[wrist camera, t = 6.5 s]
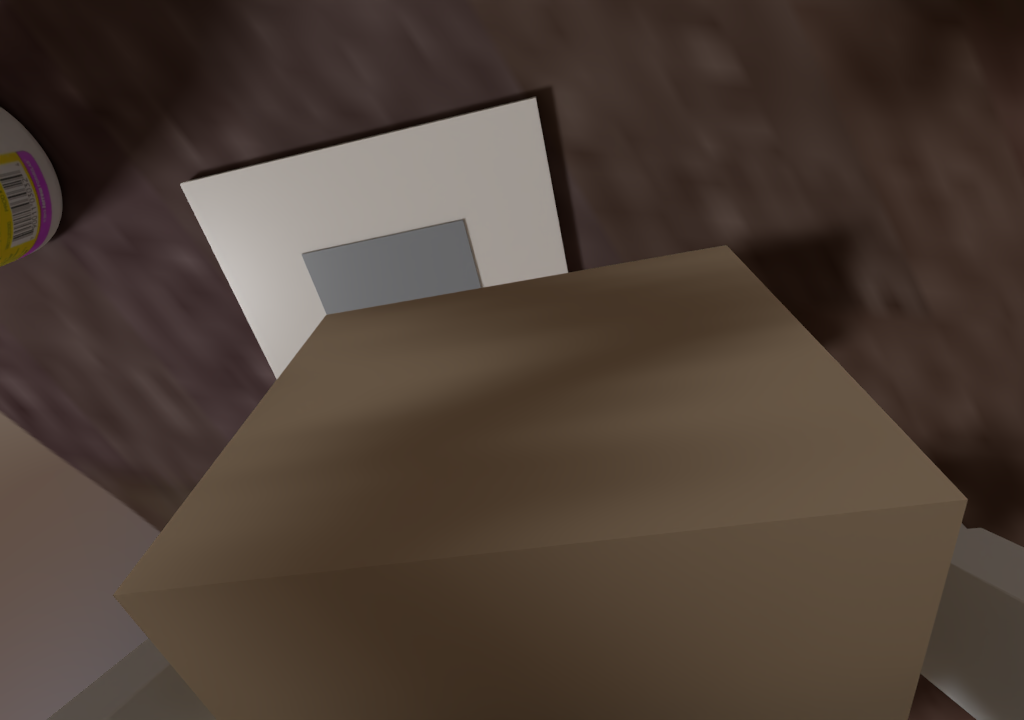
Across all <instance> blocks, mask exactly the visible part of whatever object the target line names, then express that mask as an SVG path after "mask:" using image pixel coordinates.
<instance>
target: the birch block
mask: <svg viewBox="0 0 1024 720" xmlns="http://www.w3.org/2000/svg"><path fill="white" fill-rule="evenodd" d="M967 501H968V499H967V498H966V497H965V496H964V495H963V494H962V493H961V492H960V490H959V489H958V488H957V487H956V486H955V485H954V484H953V483H952V482H951V481H950V480H949V479H948V478H947V477H946V476H945V475H944V474H943V473H942V472H941V470H940V469H939V468H938V467H937V466H936V465H935V464H934V463H933V462H932V461H931V460H930V459H929V458H928V457H927V456H926V455H925V454H924V453H923V452H922V450H921V449H920V448H919V447H918V446H917V445H916V444H915V443H914V442H913V441H912V440H911V439H910V438H909V437H908V436H907V435H906V434H905V433H904V432H903V430H902V429H901V428H900V427H899V426H898V425H897V424H896V423H895V422H894V421H893V420H892V419H891V418H890V417H889V416H888V415H887V414H886V413H885V412H884V410H883V409H882V408H881V407H880V406H879V405H878V404H877V403H876V402H875V401H874V400H873V399H872V398H871V397H870V396H869V395H868V394H867V393H866V392H865V390H864V389H863V388H862V387H861V386H860V385H859V384H858V383H857V382H856V381H855V380H854V379H853V378H852V377H851V376H850V375H849V374H848V373H847V372H846V370H845V369H844V368H843V367H842V366H841V365H840V364H839V363H838V362H837V361H836V360H835V359H834V358H833V357H832V356H831V355H830V354H829V353H828V352H827V350H826V349H825V348H824V347H823V346H822V345H821V344H820V343H819V342H818V341H817V340H816V339H815V338H814V337H813V336H812V335H811V334H810V333H809V332H808V330H807V329H806V328H805V327H804V326H803V325H802V324H801V323H800V322H799V321H798V320H797V319H796V318H795V317H794V316H793V315H792V314H791V313H790V312H789V310H788V309H787V308H786V307H785V306H784V305H783V304H782V303H781V302H780V301H779V300H778V299H777V298H776V297H775V296H774V295H773V294H772V293H771V292H770V290H769V289H768V288H767V287H766V286H765V285H764V284H763V283H762V282H761V281H760V280H759V279H758V278H757V277H756V276H755V275H754V274H753V273H752V272H751V270H750V269H749V268H748V267H747V266H746V265H745V264H744V263H743V262H742V261H741V260H740V259H739V258H738V257H737V256H736V255H735V254H734V253H733V252H732V250H731V249H730V248H729V247H728V246H727V245H724V246H719V247H713V248H707V249H702V250H696V251H690V252H684V253H679V254H673V255H667V256H661V257H656V258H650V259H644V260H638V261H633V262H627V263H621V264H615V265H610V266H604V267H598V268H592V269H587V270H581V271H575V272H569V273H564V274H558V275H552V276H546V277H541V278H535V279H529V280H524V281H518V282H512V283H506V284H501V285H495V286H489V287H483V288H478V289H472V290H466V291H460V292H455V293H449V294H443V295H437V296H432V297H426V298H420V299H414V300H409V301H403V302H397V303H391V304H386V305H380V306H374V307H369V308H363V309H357V310H351V311H346V312H340V313H334V314H328V315H326V316H325V317H324V318H323V320H322V321H321V322H320V324H319V325H318V326H317V328H316V329H315V330H314V331H313V333H312V334H311V335H310V337H309V338H308V339H307V341H306V342H305V343H304V345H303V346H302V347H301V349H300V350H299V351H298V353H297V354H296V355H295V356H294V358H293V359H292V360H291V362H290V363H289V364H288V366H287V367H286V368H285V370H284V371H283V372H282V374H281V375H280V376H279V378H278V379H277V380H276V381H275V383H274V384H273V385H272V387H271V388H270V389H269V391H268V392H267V393H266V395H265V396H264V397H263V399H262V400H261V401H260V403H259V404H258V405H257V406H256V408H255V409H254V410H253V412H252V413H251V414H250V416H249V417H248V418H247V420H246V421H245V422H244V424H243V425H242V426H241V427H240V429H239V430H238V431H237V433H236V434H235V435H234V437H233V438H232V439H231V441H230V442H229V443H228V445H227V446H226V447H225V449H224V450H223V451H222V452H221V454H220V455H219V456H218V458H217V459H216V460H215V462H214V463H213V464H212V466H211V467H210V468H209V470H208V471H207V472H206V474H205V475H204V476H203V477H202V479H201V480H200V481H199V483H198V484H197V485H196V487H195V488H194V489H193V491H192V492H191V493H190V495H189V496H188V497H187V499H186V500H185V501H184V502H183V504H182V505H181V506H180V508H179V509H178V510H177V512H176V513H175V514H174V516H173V517H172V518H171V520H170V521H169V522H168V524H167V525H166V526H165V527H164V529H163V530H162V531H161V533H160V534H159V535H158V537H157V538H156V539H155V541H154V542H153V543H152V545H151V546H150V547H149V549H148V550H147V551H146V553H145V554H144V555H143V557H142V558H141V559H140V561H139V562H138V563H137V565H136V566H135V567H134V568H133V570H132V571H131V572H130V574H129V575H128V576H127V577H126V579H125V580H124V582H123V583H122V584H121V585H120V587H119V588H118V589H117V591H116V592H115V594H114V595H113V596H114V597H115V598H116V600H117V601H118V602H119V603H120V604H121V605H122V607H123V608H124V609H125V610H126V612H127V613H128V614H129V615H130V616H131V618H132V619H133V620H134V621H135V622H136V624H137V625H138V626H139V627H140V628H141V630H142V631H143V632H144V633H145V634H146V636H147V637H148V638H149V639H150V640H151V642H152V643H153V644H154V645H155V646H156V648H157V649H158V650H159V651H160V652H161V654H162V655H163V656H164V657H165V658H166V660H167V661H168V662H169V663H170V664H171V666H172V667H173V668H174V669H175V670H176V672H177V673H178V674H179V675H180V676H181V678H182V679H183V680H184V681H185V682H186V684H187V685H188V686H189V687H190V688H191V690H192V691H193V692H194V693H195V694H196V696H197V697H198V698H199V699H200V700H201V702H202V703H203V704H204V705H205V706H206V708H207V709H208V710H209V711H210V712H211V714H212V715H213V716H214V717H215V718H216V720H908V717H909V713H910V709H911V706H912V702H913V698H914V695H915V691H916V687H917V684H918V680H919V676H920V673H921V669H922V665H923V662H924V658H925V654H926V651H927V647H928V644H929V640H930V636H931V633H932V629H933V625H934V622H935V618H936V614H937V611H938V607H939V603H940V600H941V596H942V592H943V589H944V585H945V581H946V578H947V574H948V570H949V567H950V563H951V560H952V556H953V552H954V549H955V545H956V541H957V538H958V534H959V530H960V527H961V523H962V519H963V516H964V512H965V508H966V505H967Z"/></svg>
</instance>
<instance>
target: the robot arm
mask: <svg viewBox="0 0 1024 720" xmlns="http://www.w3.org/2000/svg"><path fill="white" fill-rule="evenodd" d="M920 674H922V675H923V676H924V677H925V678H926V679H928V680H929V681H930V682H931V683H933V684H934V685H935V686H936V687H938V688H939V689H940V690H941V691H942V692H944V693H945V694H946V695H947V696H949V697H950V698H951V699H952V700H953V701H955V702H956V703H957V704H958V705H960V706H961V707H962V708H963V709H965V710H966V711H967V712H968V713H969V714H971V715H972V716H973V717H974V718H976V719H977V720H1024V547H1021V546H1019V545H1017V544H1015V543H1013V542H1011V541H1009V540H1006V539H1004V538H1002V537H1000V536H998V535H996V534H994V533H991V532H989V531H987V530H985V529H983V528H972V529H967V528H966V527H965V526H964V525H963V524H962V523H961V527H960V530H959V534H958V538H957V541H956V545H955V549H954V552H953V556H952V560H951V563H950V567H949V570H948V574H947V578H946V581H945V585H944V589H943V592H942V596H941V600H940V603H939V607H938V611H937V614H936V618H935V622H934V625H933V629H932V633H931V636H930V640H929V644H928V647H927V651H926V654H925V658H924V662H923V665H922V669H921V673H920ZM47 720H216V718H215V717H214V716H213V715H212V714H211V712H210V711H209V710H208V709H207V708H206V706H205V705H204V704H203V703H202V702H201V700H200V699H199V698H198V697H197V696H196V694H195V693H194V692H193V691H192V690H191V688H190V687H189V686H188V685H187V684H186V682H185V681H184V680H183V679H182V678H181V676H180V675H179V674H178V673H177V672H176V670H175V669H174V668H173V667H172V666H171V664H170V663H169V662H168V661H167V660H166V658H165V657H164V656H163V655H162V654H161V652H160V651H159V650H158V649H157V648H156V646H155V645H154V644H153V643H152V642H151V640H150V639H149V638H148V639H147V640H146V641H145V642H143V643H142V644H141V645H139V646H138V647H137V648H136V649H135V650H133V651H132V652H131V653H129V654H128V655H127V656H126V657H124V658H123V659H122V660H121V661H119V662H118V663H117V664H116V665H115V666H113V667H112V668H111V669H109V670H108V671H107V672H106V673H104V674H103V675H102V676H101V677H100V678H98V679H97V680H96V681H95V682H93V683H92V684H91V685H90V686H88V687H87V688H86V689H85V690H83V691H82V692H81V693H80V694H78V695H77V696H76V697H74V698H73V699H72V700H71V701H69V702H68V703H67V704H66V705H65V706H63V707H62V708H61V709H59V710H58V711H57V712H56V713H54V714H53V715H52V716H51V717H49V718H48V719H47Z"/></svg>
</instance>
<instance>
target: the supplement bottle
mask: <svg viewBox="0 0 1024 720" xmlns="http://www.w3.org/2000/svg"><path fill="white" fill-rule="evenodd" d="M62 209H63V207H62V194H61V188H60V185H59V181H58V178H57V175H56V173H55V170H54V168H53V166H52V164H51V162H50V160H49V158H48V157H47V155H46V154H45V152H44V151H43V149H42V147H41V146H40V145H39V144H38V142H37V141H36V140H35V139H34V137H33V136H32V135H31V134H30V133H29V132H28V131H27V129H26V128H25V127H24V126H23V125H22V124H21V123H20V122H19V121H18V120H16V119H15V118H14V117H13V116H12V115H10V114H9V113H8V112H7V111H6V110H4V109H3V108H1V107H0V267H1V266H3V265H6V264H8V263H10V262H13V261H15V260H17V259H20V258H22V257H24V256H26V255H28V254H30V253H32V252H34V251H36V250H38V249H40V248H41V247H43V246H44V245H45V244H46V243H47V242H48V241H49V240H50V239H51V238H52V236H53V235H54V234H55V232H56V230H57V228H58V226H59V223H60V220H61V216H62Z"/></svg>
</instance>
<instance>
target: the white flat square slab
mask: <svg viewBox="0 0 1024 720" xmlns="http://www.w3.org/2000/svg"><path fill="white" fill-rule="evenodd" d="M180 185H181V187H182V189H183V192H184V194H185V196H186V198H187V200H188V202H189V204H190V206H191V208H192V210H193V212H194V214H195V216H196V218H197V220H198V222H199V224H200V226H201V228H202V230H203V232H204V234H205V236H206V238H207V240H208V242H209V244H210V246H211V248H212V250H213V252H214V254H215V256H216V258H217V260H218V262H219V264H220V266H221V268H222V270H223V272H224V274H225V276H226V278H227V280H228V282H229V284H230V286H231V288H232V290H233V292H234V294H235V296H236V298H237V300H238V302H239V304H240V306H241V308H242V310H243V312H244V314H245V316H246V318H247V320H248V322H249V324H250V326H251V328H252V330H253V332H254V334H255V336H256V338H257V340H258V342H259V344H260V346H261V348H262V350H263V352H264V354H265V356H266V358H267V361H268V363H269V365H270V367H271V369H272V371H273V373H274V375H275V377H276V379H278V378H279V376H280V375H281V374H282V372H283V371H284V370H285V368H286V367H287V366H288V364H289V363H290V362H291V360H292V359H293V358H294V356H295V355H296V354H297V353H298V351H299V350H300V349H301V347H302V346H303V345H304V343H305V342H306V341H307V339H308V338H309V337H310V335H311V334H312V333H313V331H314V330H315V329H316V328H317V326H318V325H319V324H320V322H321V321H322V320H323V318H324V317H325V316H326V315H328V314H334V313H340V312H346V311H351V310H357V309H363V308H369V307H374V306H380V305H386V304H391V303H397V302H403V301H409V300H414V299H420V298H426V297H432V296H437V295H443V294H449V293H455V292H460V291H466V290H472V289H478V288H483V287H489V286H495V285H501V284H506V283H512V282H518V281H524V280H529V279H535V278H541V277H546V276H552V275H558V274H564V273H568V269H567V263H566V258H565V252H564V247H563V241H562V236H561V230H560V225H559V220H558V214H557V209H556V203H555V198H554V192H553V187H552V181H551V176H550V171H549V165H548V160H547V154H546V149H545V143H544V138H543V132H542V127H541V122H540V116H539V111H538V105H537V100H536V96H535V97H531V98H527V99H523V100H519V101H514V102H510V103H506V104H502V105H498V106H494V107H490V108H486V109H481V110H477V111H473V112H469V113H465V114H461V115H457V116H453V117H448V118H444V119H440V120H436V121H432V122H428V123H424V124H420V125H416V126H411V127H407V128H403V129H399V130H395V131H391V132H387V133H383V134H378V135H374V136H370V137H366V138H362V139H358V140H354V141H350V142H345V143H341V144H337V145H333V146H329V147H325V148H321V149H317V150H312V151H308V152H304V153H300V154H296V155H292V156H288V157H284V158H279V159H275V160H271V161H267V162H263V163H259V164H255V165H251V166H246V167H242V168H238V169H234V170H230V171H226V172H222V173H218V174H213V175H209V176H205V177H201V178H197V179H193V180H189V181H186V182H183V183H181V184H180Z"/></svg>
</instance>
